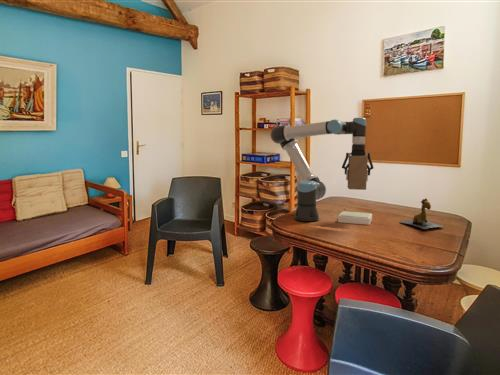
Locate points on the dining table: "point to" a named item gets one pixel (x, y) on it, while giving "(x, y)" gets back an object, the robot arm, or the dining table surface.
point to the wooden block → (357, 172)
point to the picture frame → (355, 218)
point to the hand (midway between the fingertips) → (356, 180)
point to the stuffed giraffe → (422, 217)
